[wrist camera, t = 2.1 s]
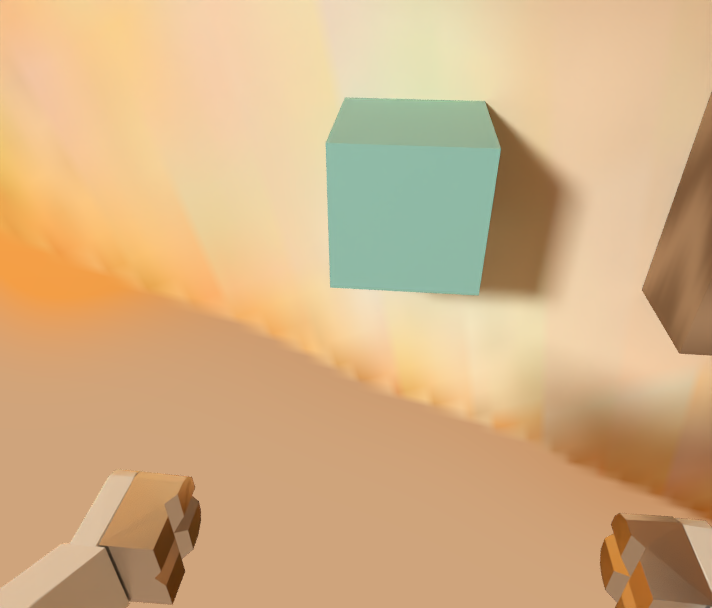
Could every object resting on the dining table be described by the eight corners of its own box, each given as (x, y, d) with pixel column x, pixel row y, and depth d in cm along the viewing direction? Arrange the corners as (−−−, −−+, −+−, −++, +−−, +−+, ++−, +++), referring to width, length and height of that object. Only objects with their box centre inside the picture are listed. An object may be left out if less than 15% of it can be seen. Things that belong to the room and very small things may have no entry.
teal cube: (345, 97, 24) (325, 142, 19) (484, 100, 24) (501, 148, 19) (346, 221, 28) (330, 287, 23) (468, 227, 27) (478, 295, 22)
